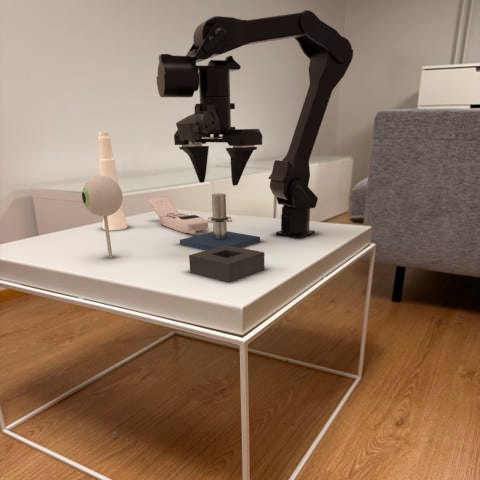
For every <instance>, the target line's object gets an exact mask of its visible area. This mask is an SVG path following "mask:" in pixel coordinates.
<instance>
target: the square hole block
mask: <svg viewBox="0 0 480 480" xmlns="http://www.w3.org/2000/svg"><path fill="white" fill-rule="evenodd" d="M188 263H189V273H191V274H196V275H199V276H204V277H206V278H211V279H215V280H218V281H221V282H222V281H223V282H226V283H231V282H234V281H237V280H239V279H242V278H244V277H247V276H251V275H253V274H255V273H259V272H260V271H264V270H265V252H264V251H259V250H254V249H248V248H244V247H240V248H239V247H234V246H229V245H223V246H220V247H216V248H213V249H209V250H203V251H199V252H194V253H191V254H189V255H188Z"/></svg>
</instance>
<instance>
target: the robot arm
mask: <svg viewBox="0 0 480 480" xmlns="http://www.w3.org/2000/svg"><path fill="white" fill-rule="evenodd" d="M192 37H193V43H192V44H191V47H190V48H189V50H188V51H187V53H186V55H173V54H170V53H161V54H159V55H158V64H157V65H158V66H157V76H156V86H157V91H158V95H159V97H160V98H193V96H194V94H195V92H198V91H199V92H198V93H199V103H195V104H194V107H193V109H194V113H192V114H190V115H187V116H186V117H183V118H182V119H180V120H178V121H176V123H175V125H176V128H177V130H176V131H175V133H174V134H173V141H174V146H179V147H178V148H179V150H181V151H183V152H184V153H185V154H186V155H187V156H188V158H189V159H190V161H191V164H192V166H193V169H194V171H195V175H196V177H197V180H198V182H199V183H201V184H203V183H205V180H206V176H207V167H208V159H209V158H208V157H209V150H210V149H209V148H210V146H209V145H205V144H207V143H227V145H228V146H229V147H225V151H226V152H227V153H228V155H229V157H230V173H231V184H232V186H233V187H235V186H238V185H239V182H240V180H241V178H242V175H243V172H244V171H245V169H246V166H247V164H248V162H249V160H250V158H251V156H252V154H253V152H254V151H257V150H258V146H263V134H262V132H261V130H260V128H236V126H232V118H231V115H232V112H231V111H232V110H235V109H236V102H235V103H234V102H233V103H232V102H231V75H230V74H231V72H235V71H236V72H237V71H240V70H241V69H242V67H241V65H240V64H239V63H238V62H237V61H236V60H235V59H234V57H233V55H228V56H226V57H225V58H224V59H213V58H215V57H218V56H220V55H223V54H226V53H229V52H230V51H233V50H237V49H238V48H241V47H243V46H249V45H254V44H255V45H256V44H261V43H262V44H263V43H268V42H274V41H281V40H286V39H292V38H293V39H294V40H296V41H297V43H298V46H299V47H300V50H301V51H302V53H303V54H304V55H305V56H306V57H307V58H308V59H309V64H308V80H309V86H308V88H307V92H306V95H305V99H304V101H303V105H302V108H301V109H300V110H301V111H300V114H299V117H298V120H297V122H296V126H295V129H294V132H293V135H292V138H291V142H290V145H289V148H288V151H287V153H286V155H285V156H284V157H283V159H282V160H279V159H275V160H274V163H273V164H272V165H273V166H272V171H271V173H270V175H269V177H268V180H270V181H269V188H270V191H271V194H273V196H274V197H275V199H276V202H277V205H282V206H281V214H280V230H278V231H276V232H275V235H276V236H277V235H278V236H284V237H290V238H296V239H297V238H298V239H300V238H301V239H302V238H304V237H306V236H310V235H313V234H315V233H316V230H312V229H310V222H311V220H310V219H311V218H310V217H311V209H315V208H316V206H317V203H318V201H319V197H318V196H317V195H316V194H315V193H314V192H313V190H312V189H311V188H310V187H309V183H310V178H311V169H310V158H311V156H312V152H313V149H314V147H315V144H316V141H317V138H318V135H319V132H320V130H321V126H322V123H323V119H324V118H325V115H326V111H327V108H328V106H329V102H330V99H331V96H332V93H333V91H334V89H335V88H336V87H337V86H338V84H339V83H340V82H341V80H342V79H343V78H344V77H345V75H346V73H347V71H348V69H349V67H350V64H351V63H352V61H353V58H354V49H353V46H352V44H351V42H350V40H349V39H348V38H346V37H345V36H342V34H340V33H339V32H338V31H337V30H336V29H335V28H333V27H332V26H330V25H329V24H327V23H325V22H324V21H323V20H321V19H320V18H319V17H318V16H317V15H316V14H315V13H314V12H313V11H311V10H307V9H305V10H303V11H300V12H297V13H296V12H295V13H288V14H282V15H281V14H280V15H275V16H274V15H273V16H267V17H260V18H253V19H242V18H237V17H233V16H220V15H214V16H211V17H209V18H208V19H206V20H204V21H203V22H201V23H200V24H199V25H197V27H196V28H195V30H194V32H193V36H192ZM208 59H210V60H209V61H208V63H207V65H199V64H198V65H197V63H200V62H201V63H202V62H203V61H206V60H208ZM211 135H212V136H211Z"/></svg>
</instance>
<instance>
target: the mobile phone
mask: <svg viewBox="0 0 480 480" xmlns="http://www.w3.org/2000/svg"><path fill="white" fill-rule="evenodd" d="M146 200H147V203H148V204H149V205H150V206H151V208H152V209H153V211H154V213H156V215H157V216H158V217H159V221H160V224H161V226H162V225H163V226H164V227H166V228H169V229H172V230H175V231H177V232H180V233H183V234H187V233H188V234H190V235H193V236H197V235H198V232H199V231H207V230H208V229H209V222H208V221H209V220H208V219H205V218H204V217H202V216H200V215H196V214H191V215H190V214H186V213H181V212H178V211H177V209H176V207H175V206H174V205H173V203H172V201H171V199H170V198H169V197H168V196H158V197H151V198H146Z"/></svg>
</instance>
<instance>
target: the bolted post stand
mask: <svg viewBox="0 0 480 480" xmlns="http://www.w3.org/2000/svg"><path fill="white" fill-rule="evenodd" d="M226 197H227V196H226V193H223V192H222V193H221V192H218V193H212V194H211V206H212V216H209V217H207V221H208V224H212V230H213V231H212V232H213V234H214V239H216V240H223V239H227V231H228V227H227V226H228V223H231V222H233V219H232V216H227V198H226Z"/></svg>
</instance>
